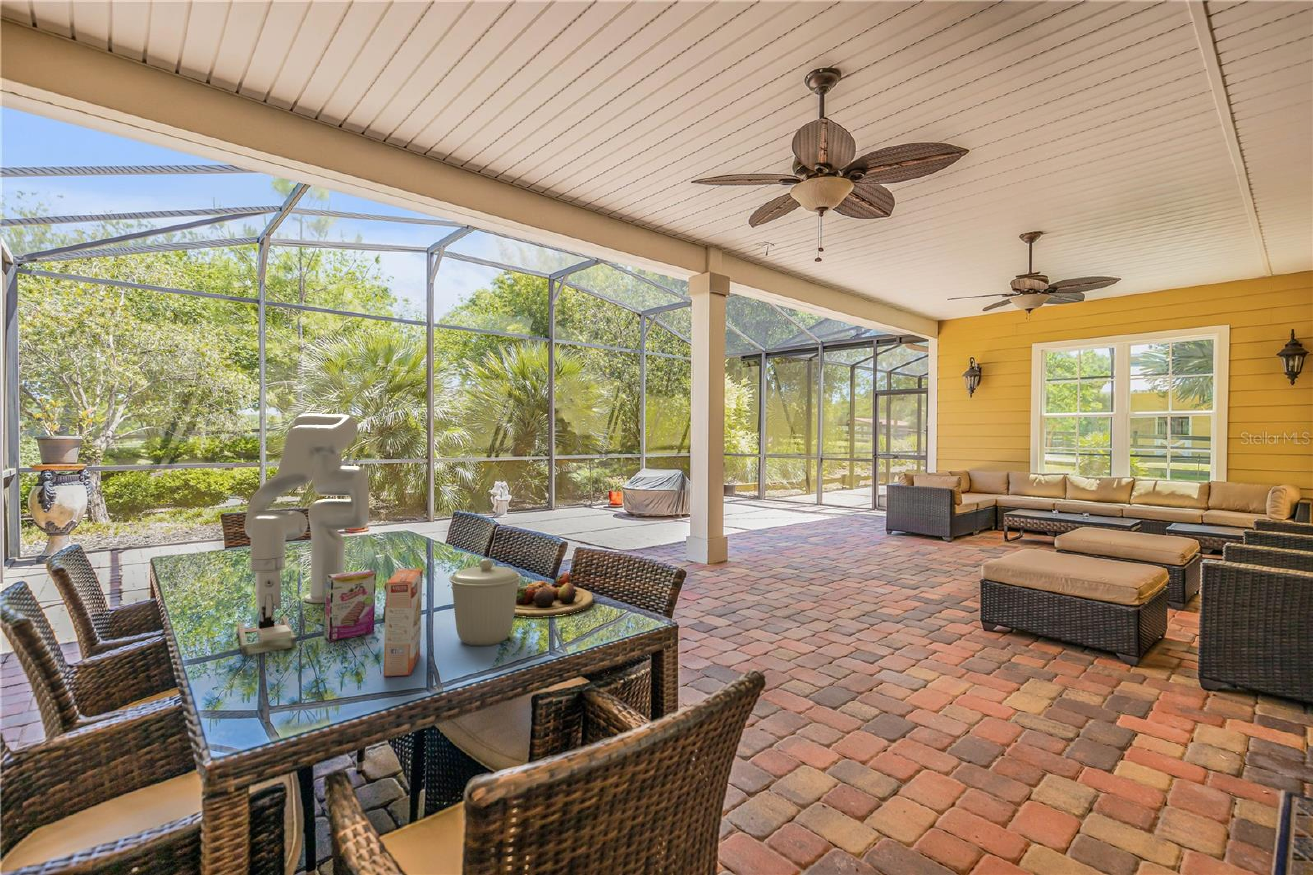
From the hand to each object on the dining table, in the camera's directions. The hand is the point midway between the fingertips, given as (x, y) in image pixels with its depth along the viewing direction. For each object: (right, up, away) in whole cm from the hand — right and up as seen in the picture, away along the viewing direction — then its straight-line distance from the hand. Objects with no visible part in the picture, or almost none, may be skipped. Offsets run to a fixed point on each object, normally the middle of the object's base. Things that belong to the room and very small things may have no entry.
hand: (266, 635), depth 155 cm
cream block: (+4, -1, -3) cm, 5 cm away
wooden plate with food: (+63, -3, +39) cm, 74 cm away
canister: (+54, -2, +4) cm, 55 cm away
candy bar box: (+19, -2, +5) cm, 20 cm away
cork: (+24, -2, +20) cm, 31 cm away
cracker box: (+41, -2, -15) cm, 44 cm away
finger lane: (-1, -1, +2) cm, 2 cm away
